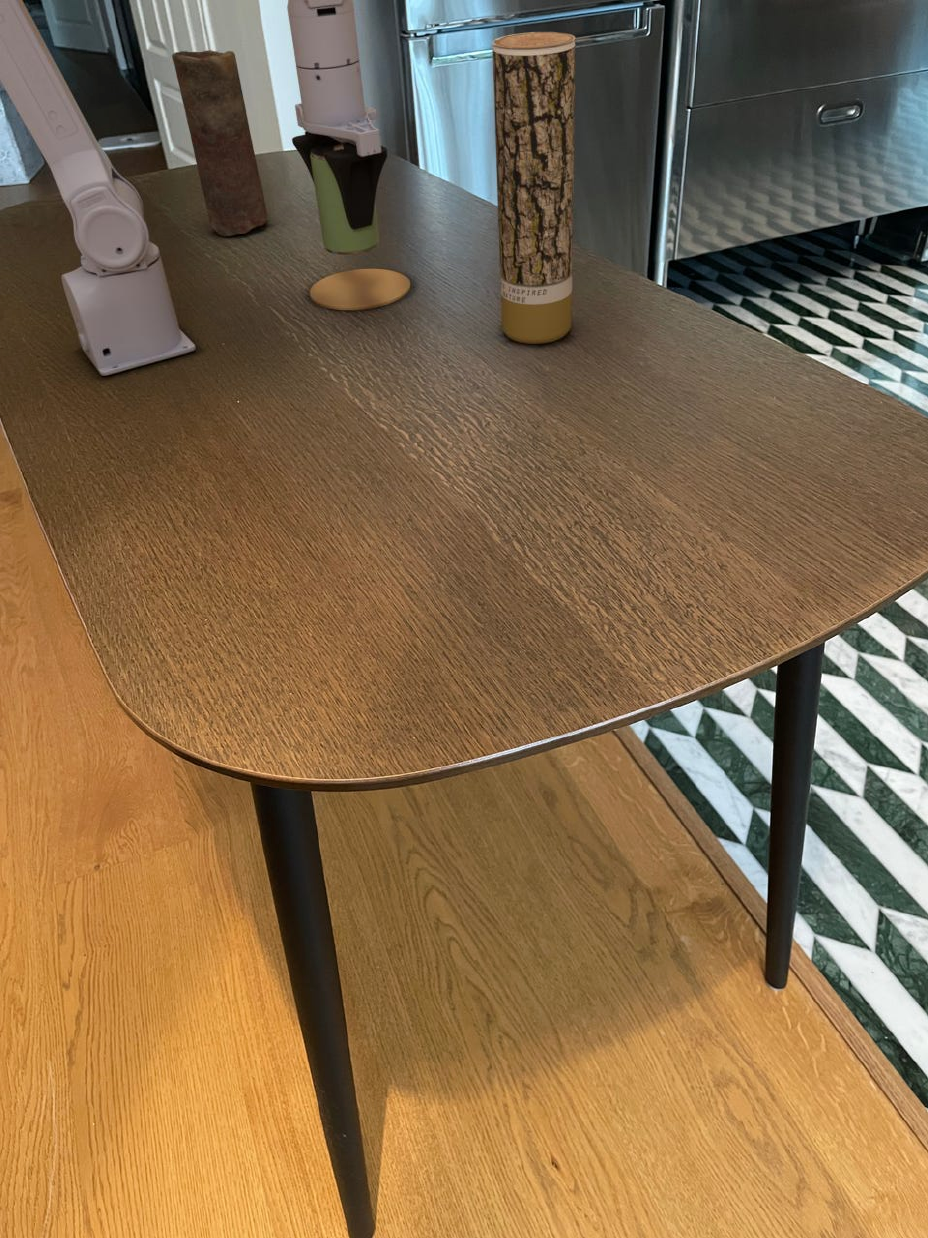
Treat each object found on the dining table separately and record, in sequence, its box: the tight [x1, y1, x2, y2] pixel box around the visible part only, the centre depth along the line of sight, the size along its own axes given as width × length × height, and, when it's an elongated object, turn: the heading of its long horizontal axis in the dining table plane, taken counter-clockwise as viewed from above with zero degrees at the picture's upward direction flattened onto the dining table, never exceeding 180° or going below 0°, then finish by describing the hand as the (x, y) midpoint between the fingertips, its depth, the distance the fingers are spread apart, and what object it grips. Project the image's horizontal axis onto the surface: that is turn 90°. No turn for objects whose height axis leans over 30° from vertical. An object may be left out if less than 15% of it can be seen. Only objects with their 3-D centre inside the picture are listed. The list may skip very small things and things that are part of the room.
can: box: [310, 141, 380, 256], centre depth 94 cm, size 6×6×9 cm
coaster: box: [309, 268, 411, 311], centre depth 106 cm, size 11×11×1 cm
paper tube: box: [491, 31, 577, 345], centre depth 87 cm, size 7×7×25 cm
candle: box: [171, 49, 268, 237], centre depth 118 cm, size 8×7×20 cm
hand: (348, 218), depth 96 cm, fingers closed on can, 5 cm apart
